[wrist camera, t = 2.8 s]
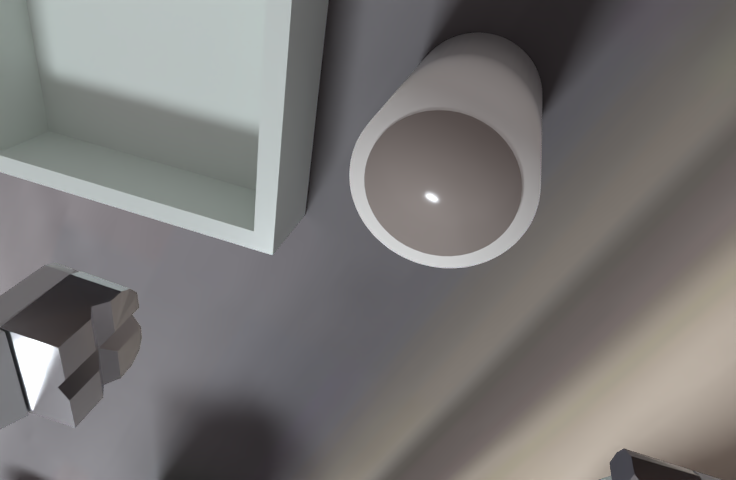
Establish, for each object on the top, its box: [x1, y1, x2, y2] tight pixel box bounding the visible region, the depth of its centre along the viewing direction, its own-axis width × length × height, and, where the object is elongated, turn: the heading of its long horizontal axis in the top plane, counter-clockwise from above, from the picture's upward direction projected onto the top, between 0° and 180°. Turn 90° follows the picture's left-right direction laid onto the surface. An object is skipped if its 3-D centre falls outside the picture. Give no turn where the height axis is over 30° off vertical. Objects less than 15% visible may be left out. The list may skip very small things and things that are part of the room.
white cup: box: [349, 32, 543, 268], centre depth 20 cm, size 6×6×9 cm
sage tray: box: [0, 0, 329, 255], centre depth 24 cm, size 16×16×4 cm
